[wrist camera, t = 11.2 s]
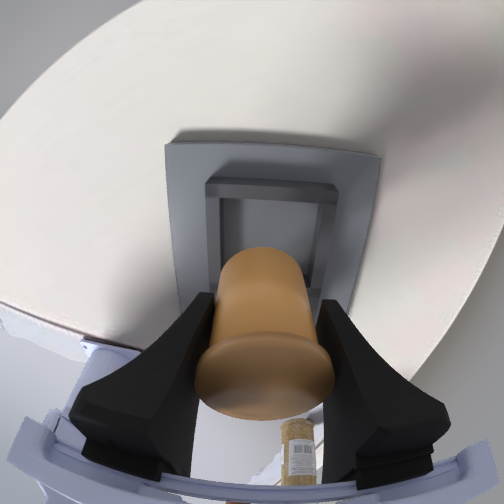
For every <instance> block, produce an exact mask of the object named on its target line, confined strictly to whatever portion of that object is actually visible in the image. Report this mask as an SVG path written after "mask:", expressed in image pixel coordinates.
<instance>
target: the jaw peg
mask: <svg viewBox="0 0 504 504" xmlns="http://www.w3.org/2000/svg"><path fill="white" fill-rule="evenodd" d="M334 385H335V374H334V370H333V366H332V361H331V358H330V356H329V354H328V353H327V352H326V350H325V349H324V348H323V347H322V346H320V345H319V344H318V339H317V335H316V330H315V326H314V321H313V317H312V312H311V308H310V304H309V299H308V295H307V291H306V287H305V283H304V279H303V274H302V271H301V269H300V266H299V265H298V263H297V262H296V261H295V260H294V259H293V258H292V257H291V256H290V255H288V254H287V253H285V252H283V251H281V250H278V249H275V248H270V247H255V248H250V249H246V250H243V251H241V252H239V253H237V254H235V255H234V256H233V257H231V258H230V259H229V260H228V261H227V263H226V264H225V265H224V267H223V269H222V271H221V274H220V279H219V286H218V292H217V298H216V304H215V310H214V317H213V323H212V330H211V336H210V343H209V349H207V350H206V351H205V352H204V353H203V355H202V356H201V358H200V359H199V361H198V364H197V369H196V375H195V382H194V386H195V390H196V393H197V395H198V396H199V398H200V399H201V400H202V401H203V402H204V403H205V404H206V405H207V406H209V407H211V408H212V409H214V410H216V411H218V412H220V413H222V414H225V415H228V416H231V417H235V418H239V419H245V420H259V421H264V420H277V419H284V418H288V417H293V416H296V415H299V414H301V413H304V412H307V411H309V410H311V409H313V408H314V407H316V406H318V405H319V404H320V403H322V402H323V401H324V400H325V399H326V398H327V397H328V396H329V395H330V394H331V392H332V390H333V388H334Z"/></svg>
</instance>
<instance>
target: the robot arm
mask: <svg viewBox="0 0 504 504" xmlns="http://www.w3.org/2000/svg"><path fill="white" fill-rule="evenodd" d="M214 310H215V297H214V293H209V292H199V293H198V294H197V295H196V297H195V298H194V299H193V301H192V302H191V303H190V304H189V306H188V307H187V308H186V309H185V311H184V312H183V313H182V314H181V315H180V316H179V318H178V319H177V320H176V321H175V322H174V323H173V324H172V325H171V326H170V327H169V328H168V329H167V330H166V331H165V332H164V333H163V334H162V336H161V337H159V338H158V339H157V340H156V341H155V342H154V343H153V344H152V345H151V346H149V347H148V348H147V349H146V350H145V351H143V352H142V353H141V352H140V351H137V350H131V349H126V348H121V347H116V346H111V345H107V344H102V343H98V342H93V341H89V340H85V339H82V340H81V341H80V343H81V345H82V347H83V349H84V351H85V353H86V355H87V357H88V361H87V363H86V365H85V367H84V369H83V371H82V373H81V375H80V377H79V379H78V380H77V383H76V384H75V386H74V388H73V391H72V393H71V395H70V397H69V399H68V401H67V403H66V405H65V407H64V409H63V410H62V411H60V410H59V409H57V408H55V409H51V410H49V412H48V414H47V416H46V417H45V420H44V421H43V424H41V423H39V422H37V421H35V420H33V419H31V418H29V417H27V416H26V417H25V418H24V420H23V423H22V425H21V427H20V429H19V431H18V433H17V435H16V438H15V440H14V442H13V445H12V447H11V449H10V451H9V454H8V456H7V461H8V462H9V463H11V464H12V465H13V466H15V467H16V468H18V469H19V470H21V471H22V472H24V473H25V474H27V475H28V476H30V477H32V478H33V479H35V480H36V481H37V483H38V484H39V486H40V487H41V489H42V490H43V492H44V493H45V496H44V499H43V502H42V504H189V503H187V502H185V501H183V500H182V498H181V496H178V495H175V494H180V495H186V496H192V497H198V498H204V499H211V500H219V501H228V502H239V503H257V504H302V503H318V502H329V501H338V500H343V501H339V502H337V503H336V504H463V503H465V502H467V501H469V500H471V499H473V498H475V497H477V496H479V495H481V494H482V493H484V492H486V491H488V490H490V489H491V488H493V487H495V486H497V485H498V484H499V483H500V482H499V477H498V474H497V469H496V466H495V462H494V458H493V455H492V452H491V449H490V445H489V442H488V440H487V439H485V440H483V441H480V442H478V443H475V444H473V445H471V446H468V447H467V448H465V449H464V450H462V451H461V452H459V453H458V454H457V455H456V456H453V457H450V458H448V459H444V460H442V461H438V462H435V463H432V459H431V455H430V454H432V453H433V452H434V449H433V445H432V444H433V443H434V442H436V441H437V440H438V439H439V438H440V437H442V436H443V435H444V434H445V433H446V432H447V431H448V429H449V427H450V426H451V422H450V419H449V416H448V413H447V410H446V408H445V405H444V403H442V402H440V401H438V400H436V399H435V398H433V397H431V396H429V395H428V394H426V393H425V392H423V391H421V390H420V389H419V388H417V387H416V386H414V385H413V384H411V383H410V382H409V381H407V380H406V379H405V378H404V377H402V376H401V375H400V374H399V373H398V372H396V371H395V370H394V369H393V368H392V367H391V366H390V365H389V364H388V363H387V362H386V361H385V360H384V359H383V358H382V357H381V356H380V355H379V354H378V353H377V352H376V351H375V350H374V349H373V348H372V347H371V345H370V344H369V343H368V342H367V341H366V339H365V338H364V337H363V336H362V334H361V333H360V332H359V330H358V329H357V328H356V327H355V325H354V324H353V323H352V321H351V320H350V318H349V317H348V316H347V314H346V313H345V311H344V310H343V308H342V307H341V305H340V304H339V303H338V301H337V300H335V299H322V302H321V307H320V311H319V315H318V319H317V323H316V327H315V330H316V335H317V339H318V344H319V345H320V346H322V347H323V348H324V349H325V350H326V352H327V353H328V354H329V356H330V358H331V361H332V366H333V370H334V374H335V385H334V388H333V390H332V392H331V394H330V395H329V396H328V397H327V398H326V399H325V400H324V401H323V414H324V454H323V472H322V484H318V485H295V486H269V485H246V484H233V483H223V482H215V481H207V480H200V479H194V478H190V472H191V461H192V451H193V441H194V433H195V426H196V418H197V412H198V406H199V399H200V398H199V396H198V395H197V393H196V390H195V386H194V382H195V375H196V369H197V364H198V361H199V359H200V358H201V356H202V355H203V353H204V352H205V351H206V350H207V349H209V343H210V336H211V330H212V323H213V317H214ZM161 490H162V491H161ZM165 491H166V492H165ZM168 492H171V493H175V494H171V493H168ZM346 499H347V500H346Z"/></svg>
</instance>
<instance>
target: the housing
mask: <svg viewBox="0 0 504 504" xmlns="http://www.w3.org/2000/svg"><path fill="white" fill-rule="evenodd" d="M380 163H381V158H380V157H378V156H377V155H373V154H366V153H360V152H353V151H345V150H337V149H329V148H320V147H310V146H299V145H287V144H272V143H252V142H170V143H168V144H166V145H165V165H166V182H167V196H168V208H169V219H170V229H171V239H172V248H173V256H174V264H175V272H176V280H177V287H178V294H179V300H180V307H181V313H183V312H184V311H185V309H186V308H187V307H188V306H189V304H190V303H191V302H192V301H193V299H194V298H195V297H196V295H197V294H198V293H199V292H209V293H214V297H215V304H216V298H217V292H218V286H219V279H220V274H221V271H222V269H223V267H224V265H225V264H226V263H227V261H228V260H229V259H230V258H231V257H233V256H234V255H235V254H237V253H239V252H241V251H243V250H246V249H250V248H255V247H270V248H275V249H278V250H281V251H283V252H285V253H287V254H288V255H290V256H291V257H292V258H293V259H294V260H295V261H296V262H297V263H298V265H299V266H300V269H301V271H302V274H303V279H304V283H305V287H306V291H307V295H308V299H309V304H310V308H311V312H312V317H313V321H314V326H315V327H316V323H317V319H318V315H319V311H320V307H321V302H322V299H335V300H337V301H338V303H339V304H340V305H341V307H342V308H343V310H344V311H345V313H346V311H347V307H348V304H349V301H350V297H351V294H352V290H353V287H354V283H355V280H356V276H357V272H358V268H359V265H360V261H361V257H362V253H363V249H364V244H365V240H366V236H367V231H368V227H369V222H370V218H371V213H372V208H373V203H374V198H375V192H376V187H377V181H378V175H379V169H380Z"/></svg>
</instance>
